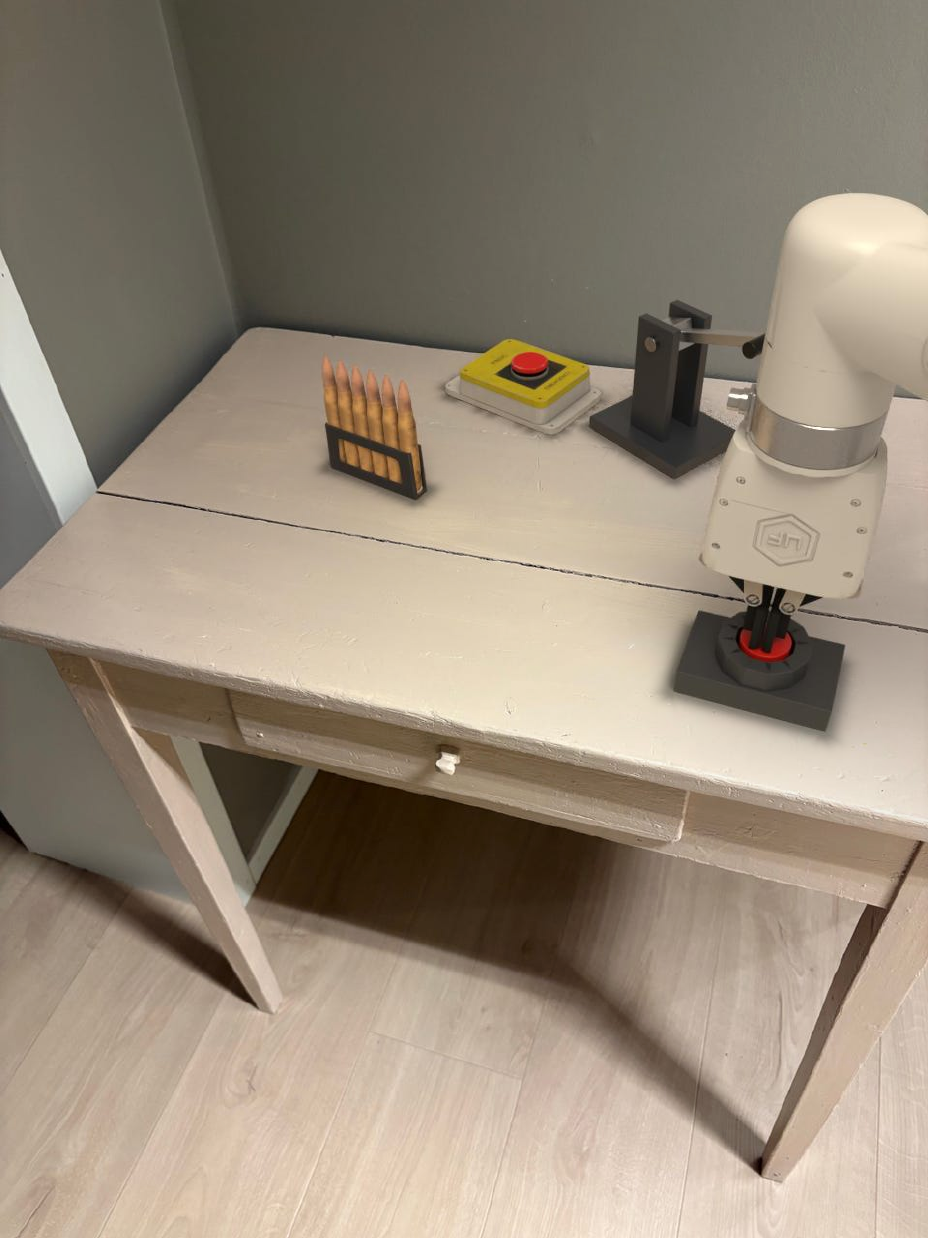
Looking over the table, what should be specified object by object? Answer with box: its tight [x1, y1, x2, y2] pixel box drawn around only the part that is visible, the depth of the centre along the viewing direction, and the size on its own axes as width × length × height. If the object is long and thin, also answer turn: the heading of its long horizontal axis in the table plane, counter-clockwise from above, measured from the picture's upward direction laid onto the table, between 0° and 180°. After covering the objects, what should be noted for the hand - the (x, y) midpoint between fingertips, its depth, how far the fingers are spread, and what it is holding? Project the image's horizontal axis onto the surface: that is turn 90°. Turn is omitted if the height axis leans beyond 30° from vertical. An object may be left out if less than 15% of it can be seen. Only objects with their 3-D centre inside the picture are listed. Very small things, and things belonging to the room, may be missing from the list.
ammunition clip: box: [321, 355, 428, 501], centre depth 89 cm, size 11×2×12 cm, turn 55°
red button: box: [738, 622, 792, 662], centre depth 70 cm, size 4×4×2 cm
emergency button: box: [444, 338, 602, 436], centre depth 102 cm, size 9×4×15 cm
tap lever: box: [661, 316, 766, 360], centre depth 84 cm, size 13×5×2 cm, turn 37°
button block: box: [673, 609, 846, 732], centre depth 71 cm, size 11×7×4 cm, turn 67°
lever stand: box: [588, 299, 736, 480], centre depth 92 cm, size 12×9×13 cm
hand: (763, 637), depth 70 cm, fingers closed
